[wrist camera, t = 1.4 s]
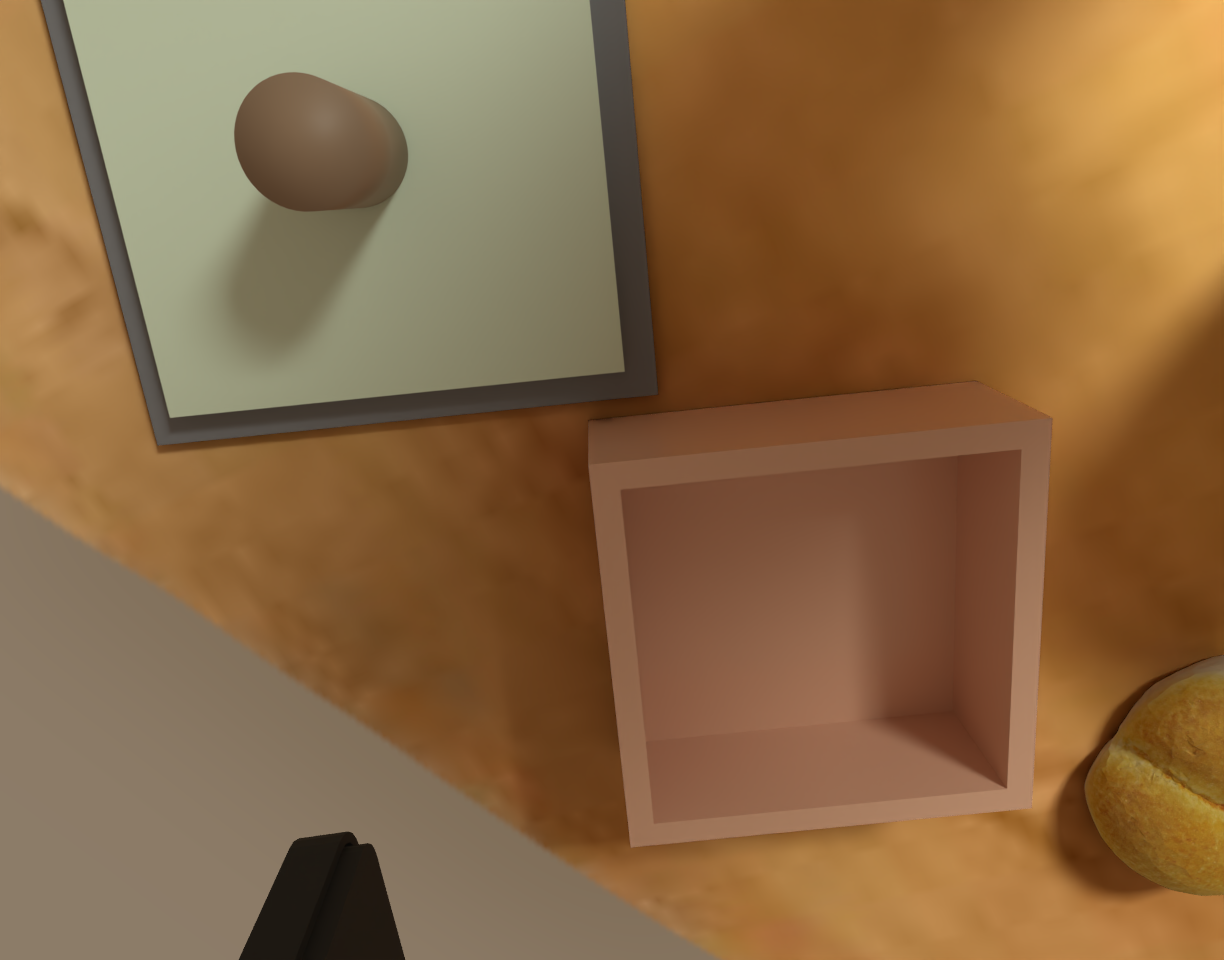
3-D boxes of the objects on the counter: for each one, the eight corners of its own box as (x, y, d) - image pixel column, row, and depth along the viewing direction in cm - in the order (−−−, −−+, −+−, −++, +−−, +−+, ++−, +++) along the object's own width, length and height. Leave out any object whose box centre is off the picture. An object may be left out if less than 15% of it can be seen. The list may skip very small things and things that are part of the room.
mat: (14, -131, 24) (5, -136, 24) (607, -194, 24) (608, -200, 24) (163, 442, 29) (157, 445, 29) (657, 391, 29) (658, 394, 29)
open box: (588, 420, 29) (588, 464, 24) (976, 380, 29) (1052, 418, 24) (624, 752, 33) (630, 847, 28) (967, 718, 33) (1031, 808, 28)
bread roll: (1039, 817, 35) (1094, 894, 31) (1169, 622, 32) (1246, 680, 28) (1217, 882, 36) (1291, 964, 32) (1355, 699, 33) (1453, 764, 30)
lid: (53, -96, 24) (-106, -182, 19) (574, -152, 24) (570, -254, 18) (181, 411, 28) (82, 465, 23) (623, 366, 28) (632, 409, 23)
